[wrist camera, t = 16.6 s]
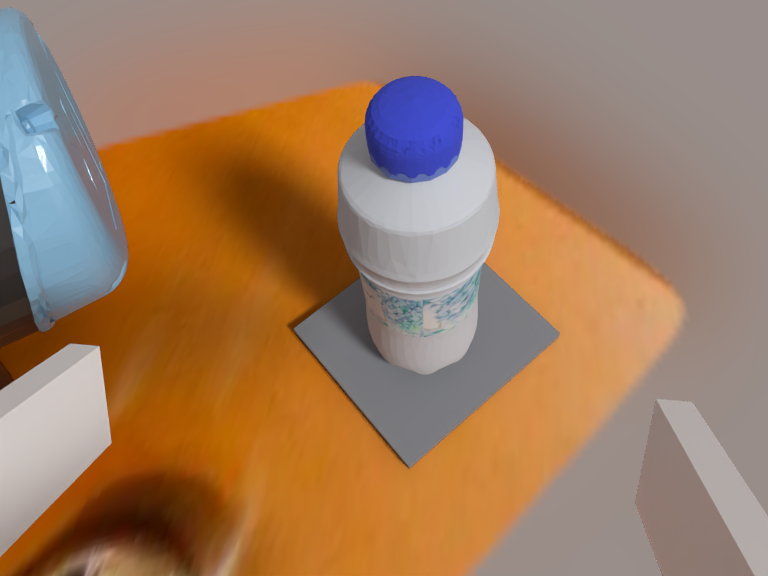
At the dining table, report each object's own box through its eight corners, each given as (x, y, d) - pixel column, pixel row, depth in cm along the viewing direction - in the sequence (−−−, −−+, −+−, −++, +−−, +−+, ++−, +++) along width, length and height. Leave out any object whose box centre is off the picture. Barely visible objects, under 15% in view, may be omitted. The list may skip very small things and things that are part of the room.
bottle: (367, 286, 40) (312, 34, 22) (473, 280, 39) (505, 19, 21) (368, 388, 37) (307, 194, 19) (483, 383, 36) (531, 180, 18)
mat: (295, 333, 40) (293, 328, 39) (437, 224, 42) (437, 218, 42) (409, 468, 35) (408, 466, 35) (557, 338, 38) (560, 333, 37)
